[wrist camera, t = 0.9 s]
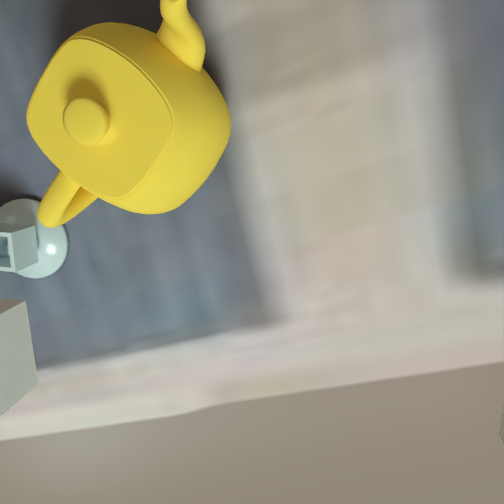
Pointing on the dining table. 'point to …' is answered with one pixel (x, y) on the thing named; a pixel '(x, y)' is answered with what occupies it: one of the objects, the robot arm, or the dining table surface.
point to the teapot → (128, 117)
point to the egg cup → (30, 241)
